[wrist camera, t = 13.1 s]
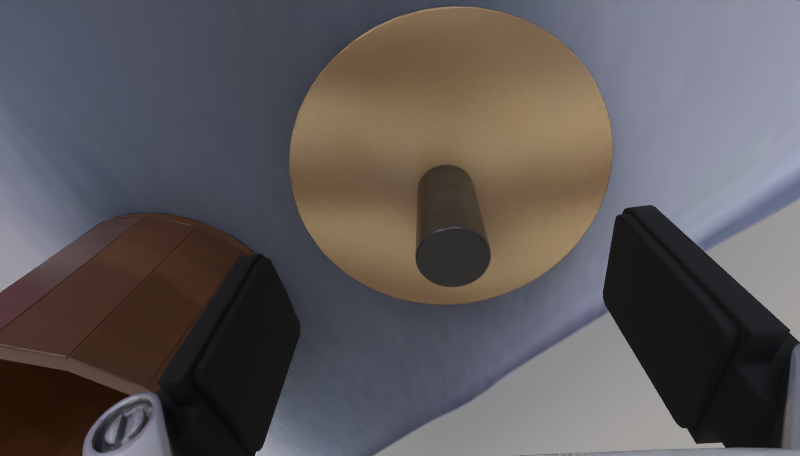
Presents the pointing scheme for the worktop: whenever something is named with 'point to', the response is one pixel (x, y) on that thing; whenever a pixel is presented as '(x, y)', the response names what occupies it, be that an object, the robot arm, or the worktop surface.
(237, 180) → the worktop surface
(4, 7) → the worktop surface
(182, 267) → the brown wooden cylinder
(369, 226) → the lid
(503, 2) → the worktop surface
